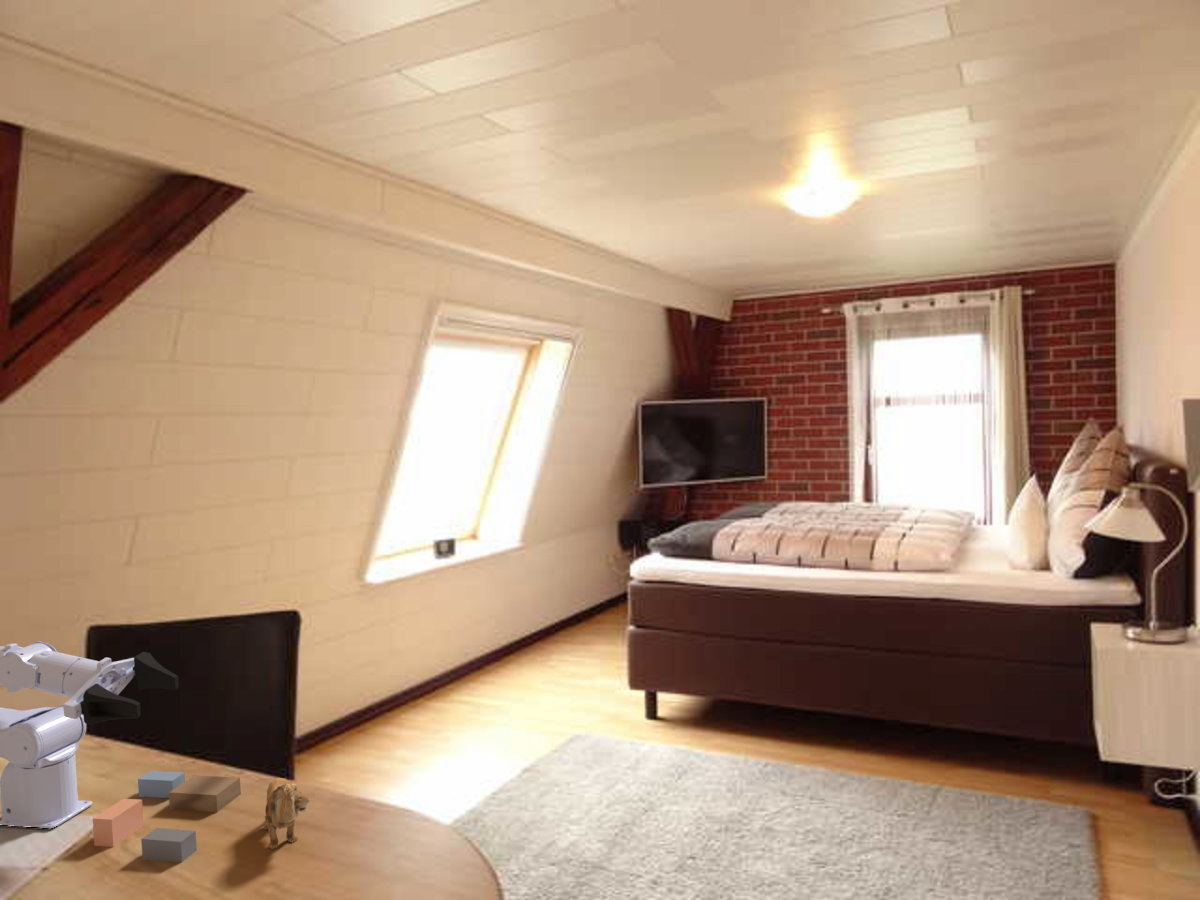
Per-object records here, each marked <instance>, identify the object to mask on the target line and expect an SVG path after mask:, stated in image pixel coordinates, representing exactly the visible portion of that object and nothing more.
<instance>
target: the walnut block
mask: <svg viewBox="0 0 1200 900" xmlns="http://www.w3.org/2000/svg"><path fill="white" fill-rule="evenodd" d="M241 790H242V788H241V778H240V777H234V776H213V775H197V774H194V775H192V776H191V777H189V778H188V779H185V782H183V783H182V784H180V785H179V786H177V787H176V788H175V789H173V790H172V791H170V792H169V798H168V804H169V805H168V806H169V811H171V810H172V811H184V812H185V811H186V812H187V811H188V812H189V811H190V812H205V813H219V812H220V811H221V810H222V809H224V808H225V807H226V806H228V805H229V804H230V803H232V802H233V801H234V800H235V799H237V798H238V797H239V796H240V795H241V794H242V792H241Z"/></svg>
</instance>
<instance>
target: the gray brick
mask: <svg viewBox="0 0 1200 900" xmlns="http://www.w3.org/2000/svg"><path fill="white" fill-rule="evenodd" d="M196 832H197V831H196V830H192V829H191V830H190V829H177V828H165V827H156V828H155V829H153V830H152V831H150V832H149V833H148V834H146V835H145V836H143V837H142V838H141V854H142V855H141V856H142V857H141V858H142V860H149V861H159V862H160V861H161V862H173V863H183V862H185V861H186V860H187V859H188V858H189V857H191V856H193V855H194V853H196V851H197V850H198V848H197V835H196V834H197V833H196ZM197 852H198V851H197Z"/></svg>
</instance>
